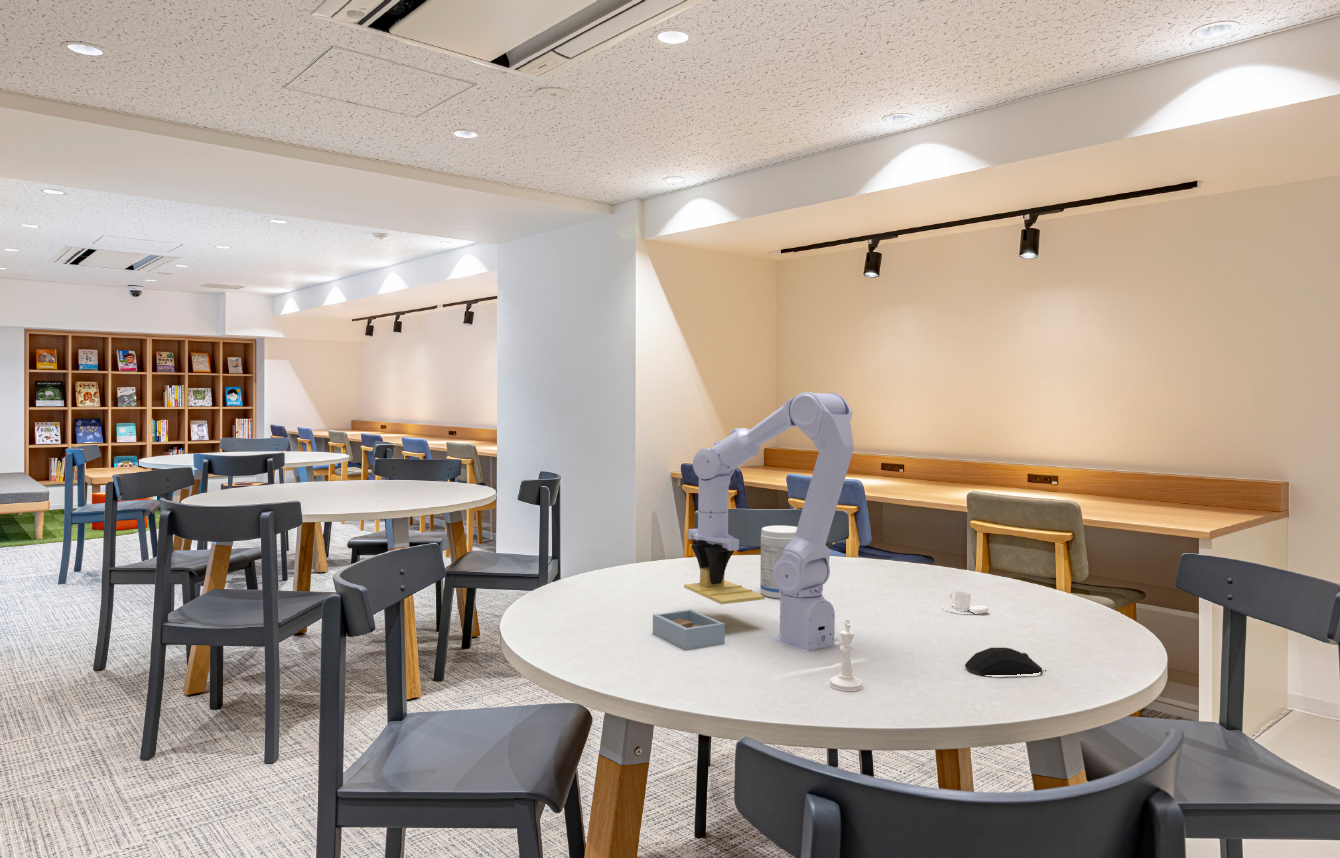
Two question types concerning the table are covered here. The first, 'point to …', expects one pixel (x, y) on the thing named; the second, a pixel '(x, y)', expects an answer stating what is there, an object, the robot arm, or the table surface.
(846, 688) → the chess piece
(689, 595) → the table surface
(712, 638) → the parts tub
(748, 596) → the lid
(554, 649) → the table surface
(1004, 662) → the gaming mouse
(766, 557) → the supplement tub
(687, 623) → the walnut block
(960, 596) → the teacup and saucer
